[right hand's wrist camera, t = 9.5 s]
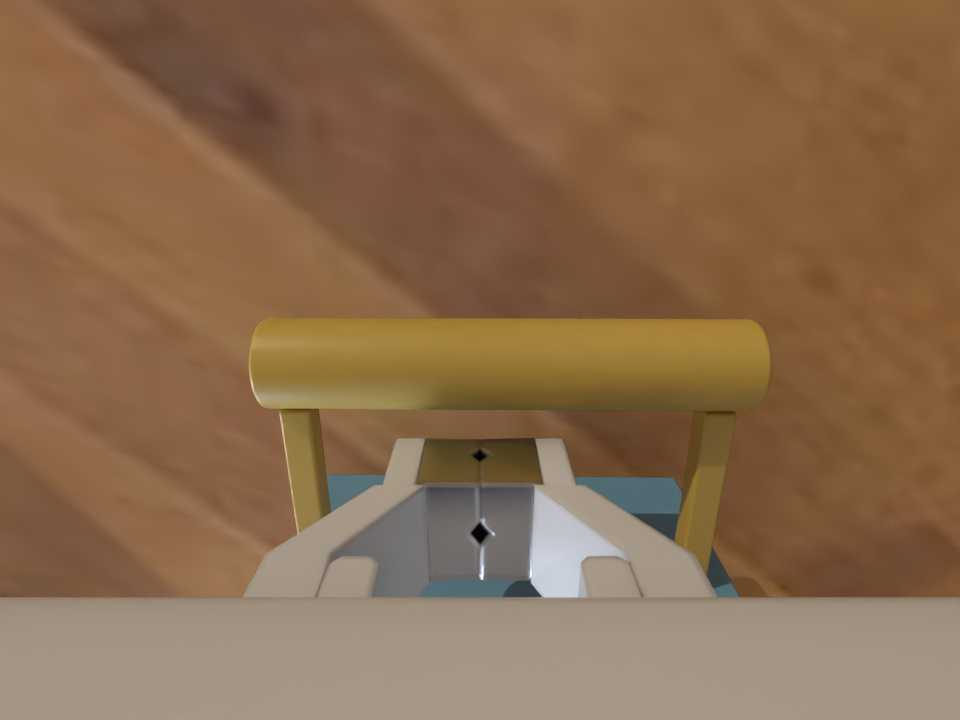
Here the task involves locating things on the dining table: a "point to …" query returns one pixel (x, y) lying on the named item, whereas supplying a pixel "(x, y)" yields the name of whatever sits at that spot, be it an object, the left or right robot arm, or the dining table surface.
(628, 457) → the dining table surface
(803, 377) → the dining table surface
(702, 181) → the dining table surface
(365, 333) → the drawer
